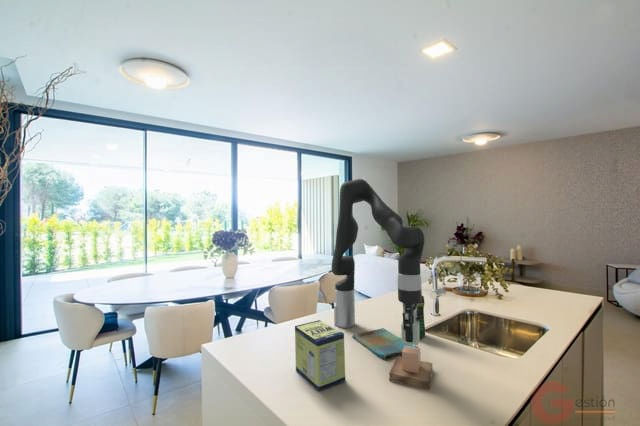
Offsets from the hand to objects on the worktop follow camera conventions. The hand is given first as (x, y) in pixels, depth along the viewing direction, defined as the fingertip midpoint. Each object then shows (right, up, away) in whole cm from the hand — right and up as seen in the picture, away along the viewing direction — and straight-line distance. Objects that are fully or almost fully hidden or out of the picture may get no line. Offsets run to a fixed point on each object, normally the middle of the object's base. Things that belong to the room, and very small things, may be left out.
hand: (410, 338), depth 98 cm
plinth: (0, -12, 0) cm, 12 cm away
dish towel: (-4, -13, +24) cm, 28 cm away
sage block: (0, -1, 0) cm, 1 cm away
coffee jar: (+11, -12, +32) cm, 37 cm away
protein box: (-30, -13, +1) cm, 33 cm away
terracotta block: (0, -10, 0) cm, 10 cm away
